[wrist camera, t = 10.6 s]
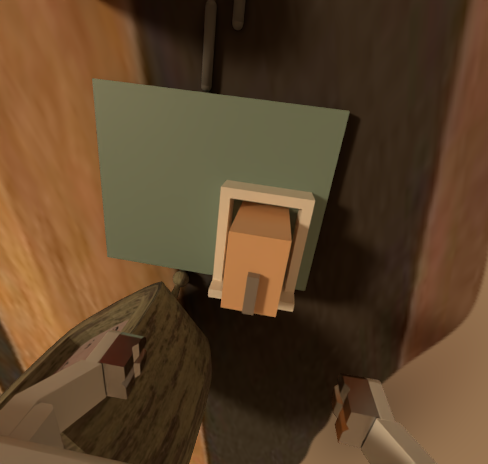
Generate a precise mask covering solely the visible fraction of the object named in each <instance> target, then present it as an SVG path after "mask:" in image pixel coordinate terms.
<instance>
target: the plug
mask: <svg viewBox="0 0 488 464" xmlns="http://www.w3.org/2000/svg"><path fill="white" fill-rule="evenodd" d="M291 242H292V239H291V227H290V215H289V208H286V207H279V206H273V205H267V204H260V203H254V202H247V201H243V202H242V204H241V206H240V208H239V210H238V213H237V215H236V217H235V219H234V221H233V223H232V226H231V228H230V230H229V235H228V244H227V253H226V262H225V271H224V280H223V289H222V298H221V307H222V308H228V309H233V310H239V311H242V313H243V314H248V315H253V313H255V314H260V315H266V316H271V317H276V313H277V308H278V304H279V299H280V294H281V290H282V285H283V280H284V275H285V271H286V266H287V261H288V257H289V252H290V247H291Z"/></svg>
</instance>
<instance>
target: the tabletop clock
mask: <svg viewBox="0 0 488 464" xmlns="http://www.w3.org/2000/svg"><path fill="white" fill-rule="evenodd" d="M173 282H174V284H175V287H174V289H173V290H172V292H170V291H169V289H168V288H167V287H166V286H165V284H164V283H163V282H158V283H155V284H152V285H150V286H147V287H145V288H143V289H141V290H139V291H137V292H135V293H133V294H131V295H129V296H127V297H125V298H123V299H121V300H119V301H117V302H115V303H114V304H112V305H110V306H108V307H107V308H105V309H103V310H101V311H99V312H98V313H96V314H94V315H92V316H91V317H89V318H87V319H86V320H84V321H83V322H81V323H80V324H78V325H77V326H75V327H74V328H72V329H71V330H70V331H69V332H67V333H66V334H65V335H64V336H63V337H62V338H60V339H59V340H58V341H57V342H56V343H55V344H54V345H53V346H52V347H51V348H49V349H48V350H47V351H46V352H45V353H44V354H43V355H42V356H41V357H40V358H39V359H38V360H37V361H36V362H35V363H34V364H33V365H31V366H30V367H29V368H28V369H27V370H26V371H25V372H24V373H23V374H22V375H21V376H20V377H19V378H18V379H17V380H16V381H15V382H14V383H13V384H12V385H11V386H10V387H9V388H8V389H7V390H6V391H5V392H4V393H3V394H2V395H1V396H0V410H1V409H2V408H3V407H4V406H5V405H6V404H7V403H8V402H9V401H10V400H11V399H12V398H13V396H14V395H16V394H18V393H20V392H22V391H24V390H26V389H27V388H29V387H31V386H33V385H35V384H37V383H39V382H41V381H42V380H44V379H46V378H48V377H50V376H52V375H54V374H56V373H58V372H59V371H61V370H63V369H65V368H67V367H69V366H71V365H73V364H74V363H76V362H78V361H80V360H86V358H87V357H88V356H89V355H90V353H91V352H92V351H93V350H94V348H95V347H96V346H97V345H98V343H99V342H100V341H101V340H102V338H103V337H104V336H105V335H106V333H107V332H108V331H110V330H115V331H120V332H126V333H130V334H135V335H139V336H144V337H146V345H145V347H144V348H145V349H146V351H147V358H146V363H145V366H144V368H143V370H142V372H141V374H140V375H139V376H137V377H136V378H135V385H134V387H133V389H132V391H131V393H130V395H129V396H128V398H127V399H121V398H116V397H110V396H106V398H104V399H103V400H102V401H101V402H99V403H98V404H97V405H96V406H94V407H93V408H92V409H90V410H89V411H88V412H87V413H85V414H84V415H83V416H82V417H80V418H79V419H78V420H76V421H75V422H74V423H73V424H71V425H70V426H69V427H68V428H66V429H65V430H64V431H62V432H61V433H60V435H61V438H62V442H63V446H64V449H66V450H71V451H75V452H80V453H84V454H89V455H93V456H98V457H102V458H107V459H111V460H116V461H120V462H125V463H130V464H189V462H190V459H191V456H192V453H193V449H194V446H195V443H196V439H197V436H198V433H199V429H200V426H201V423H202V419H203V415H204V411H205V406H206V402H207V397H208V393H209V388H210V384H211V377H212V363H211V352H210V345H209V340H208V339H207V337H206V336H205V335H204V334H203V332H202V331H201V330H200V329H199V327H198V326H197V325H196V323H195V322H194V321H193V320H192V318H191V317H190V316H189V315H188V313H187V312H186V311H185V310H184V308H183V307H182V306H181V305H180V303H179V302H178V301H177V297H178V293H179V290H180V287H183V286H185V285H186V284H187V283H188V282H189V275H188V273H186V272H185V271H178V272H176V273H175V274H174V276H173Z"/></svg>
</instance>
